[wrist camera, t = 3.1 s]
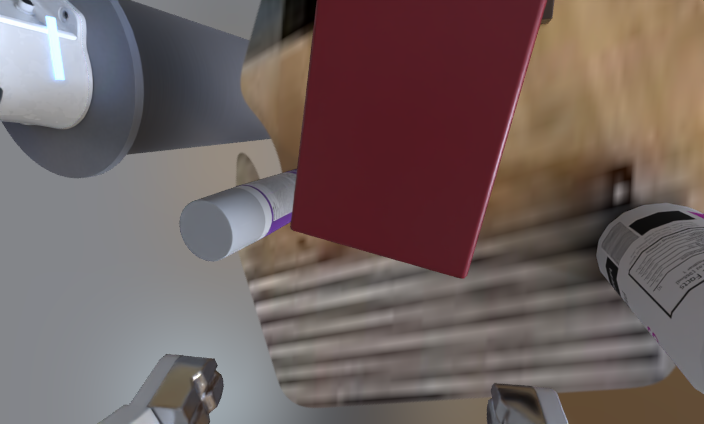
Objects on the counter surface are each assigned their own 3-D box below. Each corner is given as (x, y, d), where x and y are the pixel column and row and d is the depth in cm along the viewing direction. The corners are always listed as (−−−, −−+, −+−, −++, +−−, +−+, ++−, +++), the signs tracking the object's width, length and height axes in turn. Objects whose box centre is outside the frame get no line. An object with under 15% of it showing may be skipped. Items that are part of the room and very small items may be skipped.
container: (292, 216, 40) (195, 270, 26) (275, 177, 39) (167, 210, 25) (328, 203, 38) (244, 253, 24) (311, 162, 37) (216, 188, 24)
